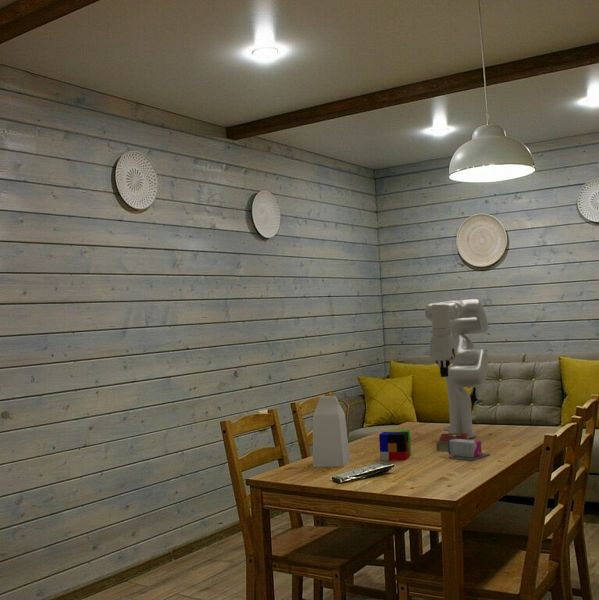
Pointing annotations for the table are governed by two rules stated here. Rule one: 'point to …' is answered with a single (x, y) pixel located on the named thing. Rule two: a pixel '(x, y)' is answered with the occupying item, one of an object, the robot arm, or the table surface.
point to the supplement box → (464, 447)
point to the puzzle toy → (395, 445)
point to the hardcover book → (444, 438)
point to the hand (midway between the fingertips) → (444, 376)
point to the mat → (469, 457)
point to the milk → (329, 434)
